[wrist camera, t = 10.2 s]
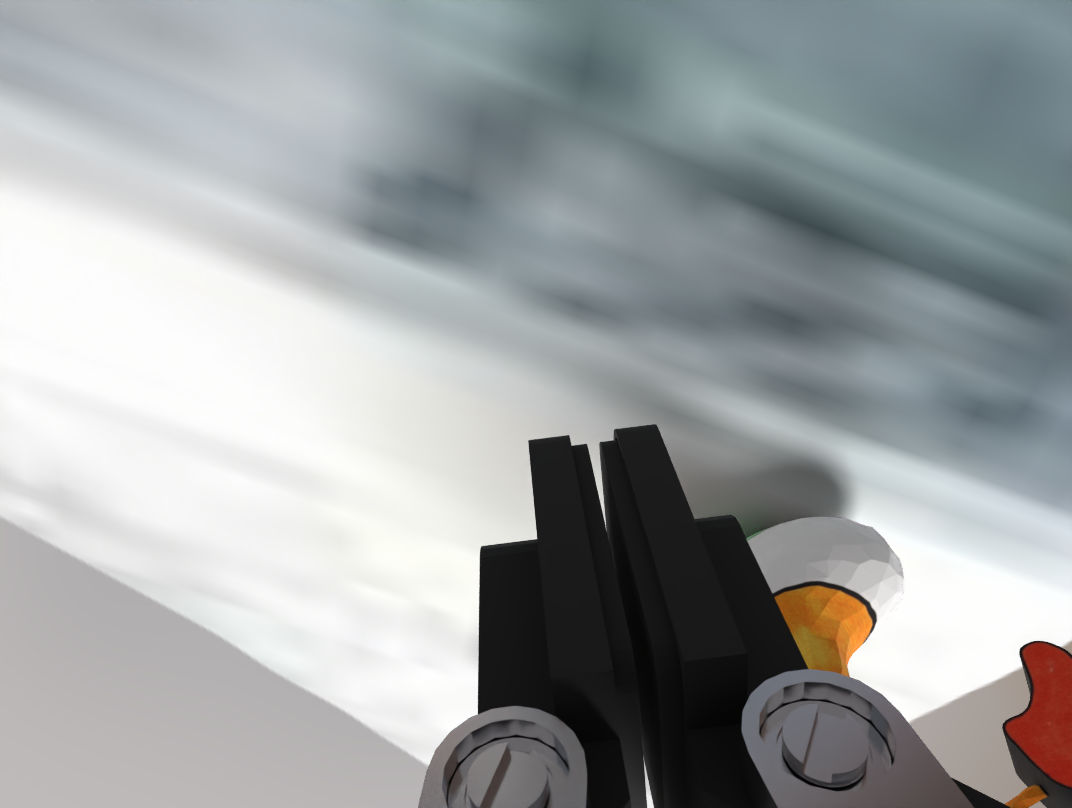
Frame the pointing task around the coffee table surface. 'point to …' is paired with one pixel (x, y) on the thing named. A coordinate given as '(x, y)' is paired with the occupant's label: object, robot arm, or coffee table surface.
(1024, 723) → the decorative sculpture
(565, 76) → the coffee table surface
